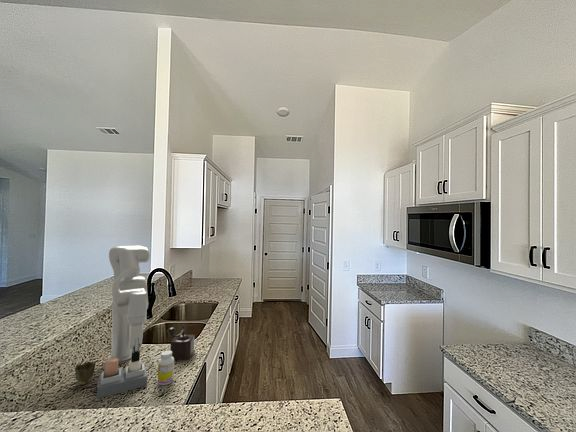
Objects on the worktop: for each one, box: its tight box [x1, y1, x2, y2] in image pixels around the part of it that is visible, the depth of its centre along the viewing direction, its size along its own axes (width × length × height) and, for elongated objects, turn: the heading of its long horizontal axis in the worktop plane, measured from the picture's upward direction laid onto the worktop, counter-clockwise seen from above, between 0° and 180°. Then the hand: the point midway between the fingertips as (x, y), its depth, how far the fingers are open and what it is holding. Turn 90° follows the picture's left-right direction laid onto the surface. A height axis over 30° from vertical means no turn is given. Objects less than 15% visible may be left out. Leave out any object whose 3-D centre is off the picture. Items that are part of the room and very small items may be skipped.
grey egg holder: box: [96, 362, 148, 399], centre depth 119 cm, size 12×18×6 cm, turn 122°
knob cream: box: [128, 358, 142, 372], centre depth 121 cm, size 5×5×5 cm
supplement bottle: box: [157, 350, 175, 386], centre depth 122 cm, size 7×7×13 cm
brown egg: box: [104, 358, 119, 375], centre depth 117 cm, size 5×5×5 cm
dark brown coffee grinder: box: [167, 324, 195, 361], centre depth 145 cm, size 16×11×18 cm
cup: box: [74, 361, 96, 386], centre depth 119 cm, size 8×7×8 cm
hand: (135, 360), depth 121 cm, fingers closed
